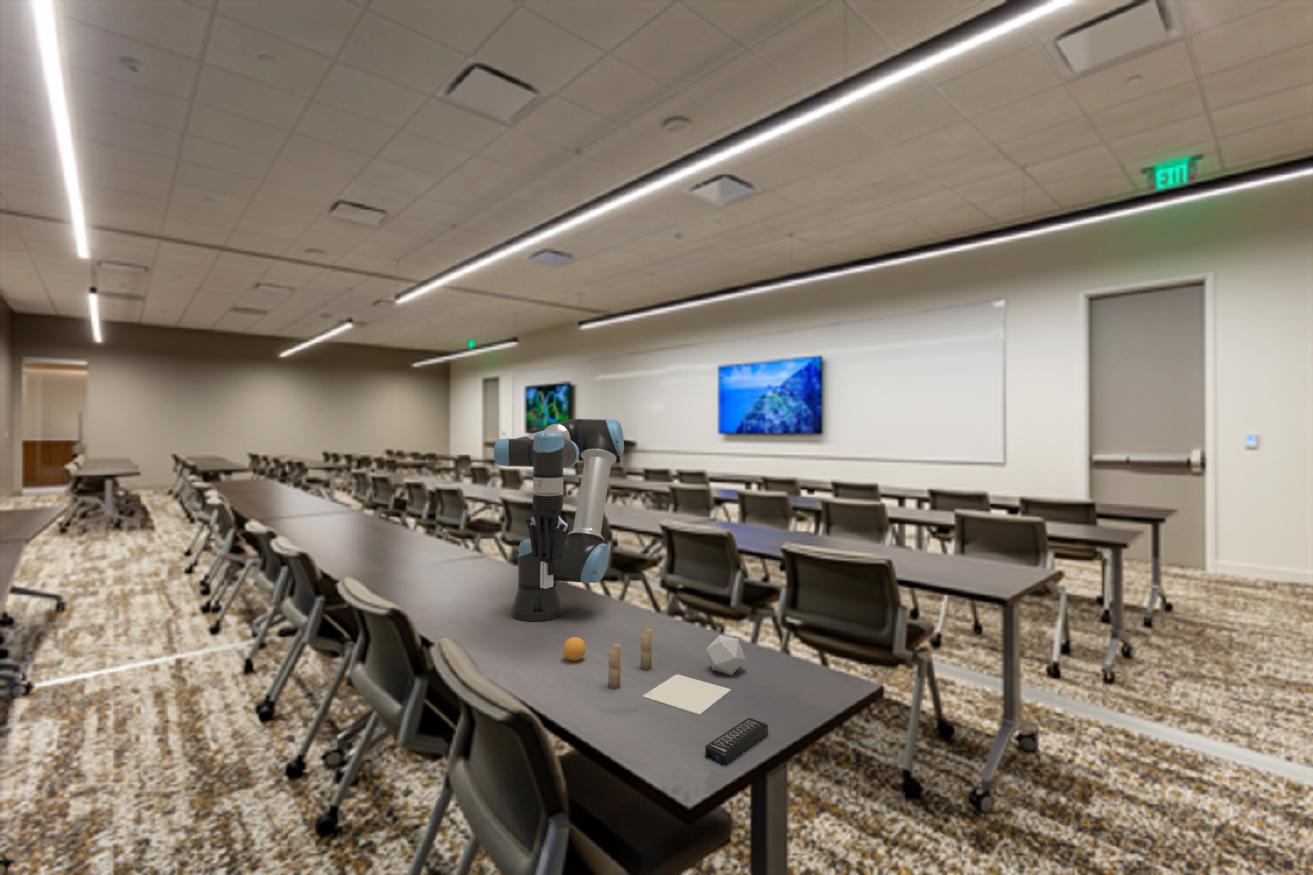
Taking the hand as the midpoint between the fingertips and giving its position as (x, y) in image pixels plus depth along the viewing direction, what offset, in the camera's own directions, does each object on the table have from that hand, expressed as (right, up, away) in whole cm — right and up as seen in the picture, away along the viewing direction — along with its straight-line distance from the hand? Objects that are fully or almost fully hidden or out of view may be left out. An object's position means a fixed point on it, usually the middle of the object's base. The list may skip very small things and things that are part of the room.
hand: (546, 586), depth 153 cm
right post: (+25, -17, -9) cm, 32 cm away
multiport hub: (+42, -19, -43) cm, 63 cm away
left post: (+18, -17, -19) cm, 32 cm away
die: (+44, -18, -10) cm, 48 cm away
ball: (+8, -14, -5) cm, 17 cm away
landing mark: (+34, -17, -22) cm, 45 cm away
